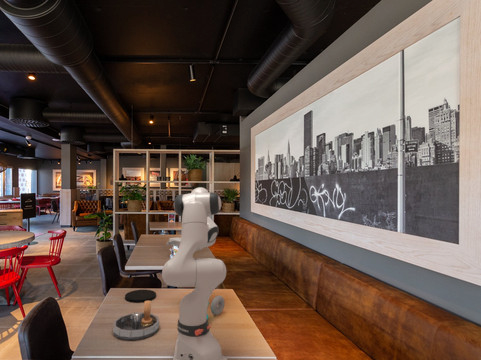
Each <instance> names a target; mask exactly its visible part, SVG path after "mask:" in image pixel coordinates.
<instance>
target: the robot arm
mask: <svg viewBox="0 0 481 360" xmlns="http://www.w3.org/2000/svg"><path fill="white" fill-rule="evenodd" d="M221 208H222V200H221V197H220V195H219V194H218V193H217V192H212V191H211V192H209V191H208V189H206V188H205V187H202V186H201V187H200V186H199V187H196V188H194V189H193V190H192V191H191V193H190V192H189V193H185V194H184V193H181V194H177V195H176V196H175V198H174V201H173V209H174V212H175V214H176V215H177V216H178V217H181V231H180V232H181V233H180V237H178V236H177V237H170V238H169V239H168V241H166V246H173V247H177V248H178V249H177V251H176V252H175V254H174V255H173V256H172V257H171V258H170V259H168V260H167V261H166V262H165V263H164V265H163V268H162V271H161V276H162V277H161V278H162V281H163V282H164V284H165V285H166V286H171V287H175V288H176V287H177V288H186V287H194V289H193V290H192V291H191V292H189V293H188V294H185V295H184V296H183V297H182V298H181V300H180V302H179V314H178V315H179V316H178V319H177V320H178V321H177V337H176V340H175V347H174V352H173V356H172V357H173V358H172V360H228V358H227V357H226V356H225V355H223V354H222V347H221V345H220V343H219V340H218V339H217V338H216V337H214V335H213V334H212V332H211V331H210V329H211V328H212V327H211V326H212V324H209V321H208V320H209V319H208V320H207V314H208V306H209V305H208V302H209V300H210V298H211V295H212V294H213V291H214V290H215V289H216V288H217V287H218V286H220V285H221V284H222V283H223V282H224V280H225V279H226V276H227V267H226V264H225V263H224V261H223V260H221V259H219V258H212V257H194V254H195V253H196V252H197V251H203V248H208V247H211V246H213V245H214V244H215V243H216V240H217V237H218V236H219V231H220V230H219V229H220V228H219V226H218V225H217V224H216V223H215V222H214V220H213V219H212V218H211V217H210V216H213V215H217V214H219V212H221Z"/></svg>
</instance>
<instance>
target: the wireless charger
mask: <svg viewBox="0 0 481 360" xmlns="http://www.w3.org/2000/svg"><path fill="white" fill-rule="evenodd" d="M156 298H157V292H156V291H155V290H152V289H151V290H150V289H136V290H131V291H129V292H127V293H125V295H124V301H126V302H128V303H133V304H141V303H142V304H143V303H144V302H145V301H151V302H152V301H154V300H155V299H156Z"/></svg>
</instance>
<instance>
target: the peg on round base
mask: <svg viewBox="0 0 481 360" xmlns="http://www.w3.org/2000/svg"><path fill="white" fill-rule="evenodd" d="M151 305H152V301H145V302H144V307H143V310H144V311H143V313H144V318H143V319H142V324H143V325H149V324H151V323H152V318H150V313H151V314H152V311H151V310H152V306H151Z"/></svg>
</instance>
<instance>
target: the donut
mask: <svg viewBox="0 0 481 360" xmlns="http://www.w3.org/2000/svg"><path fill="white" fill-rule="evenodd" d="M224 308H225V299H224V297H223V296H222V295H217V296H215V297H214V298H213V299H212V301H211V303H210V312H211V314H212V315H214V316H219V315H220V314H222V312H223V310H224Z"/></svg>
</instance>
